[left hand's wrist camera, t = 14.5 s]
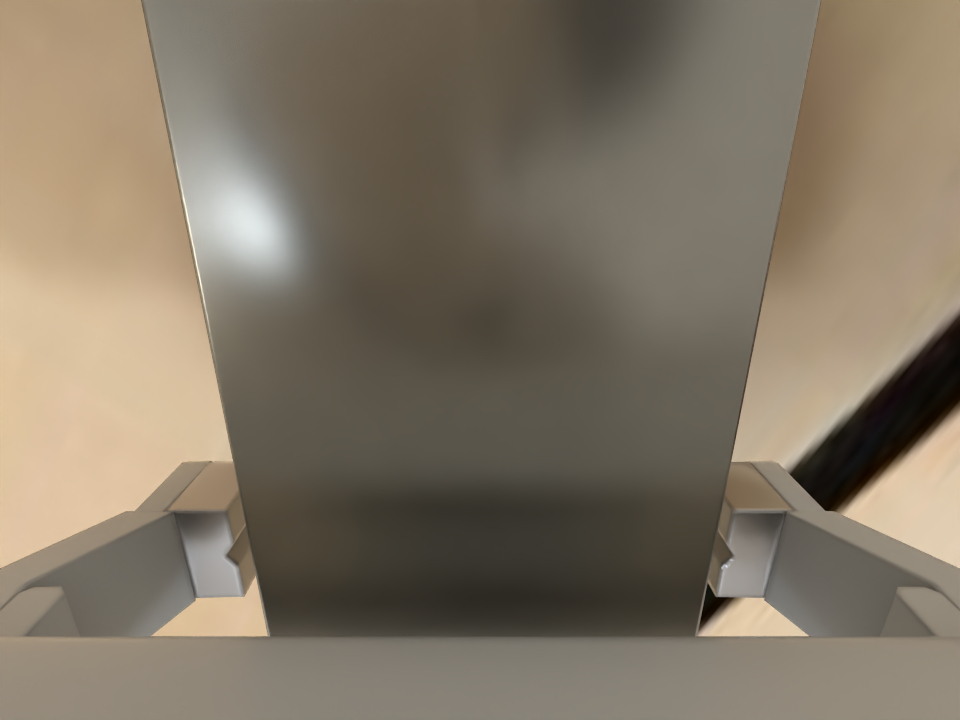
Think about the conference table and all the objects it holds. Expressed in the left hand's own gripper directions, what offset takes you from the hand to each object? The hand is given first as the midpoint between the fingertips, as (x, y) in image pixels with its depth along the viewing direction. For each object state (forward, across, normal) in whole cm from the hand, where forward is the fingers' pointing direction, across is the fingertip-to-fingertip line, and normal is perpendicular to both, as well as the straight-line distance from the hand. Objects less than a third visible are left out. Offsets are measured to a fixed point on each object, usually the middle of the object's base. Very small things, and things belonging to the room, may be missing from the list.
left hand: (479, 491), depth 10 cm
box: (+5, 0, -8) cm, 9 cm away
